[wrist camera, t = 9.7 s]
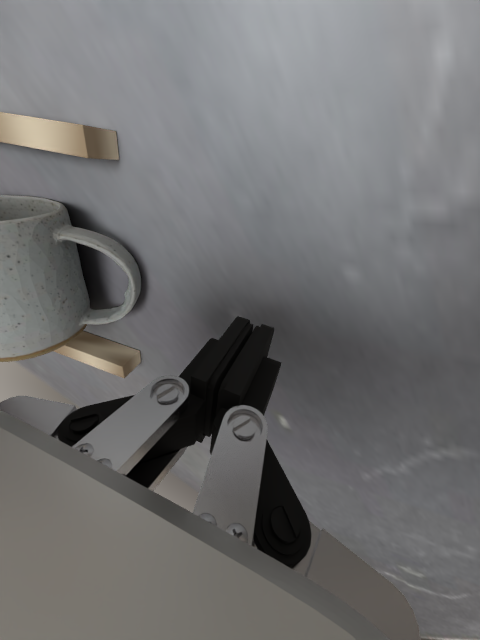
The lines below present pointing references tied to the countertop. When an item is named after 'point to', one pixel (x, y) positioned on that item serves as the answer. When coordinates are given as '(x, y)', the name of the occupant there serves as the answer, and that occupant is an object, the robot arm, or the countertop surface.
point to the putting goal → (84, 145)
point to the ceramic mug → (49, 278)
